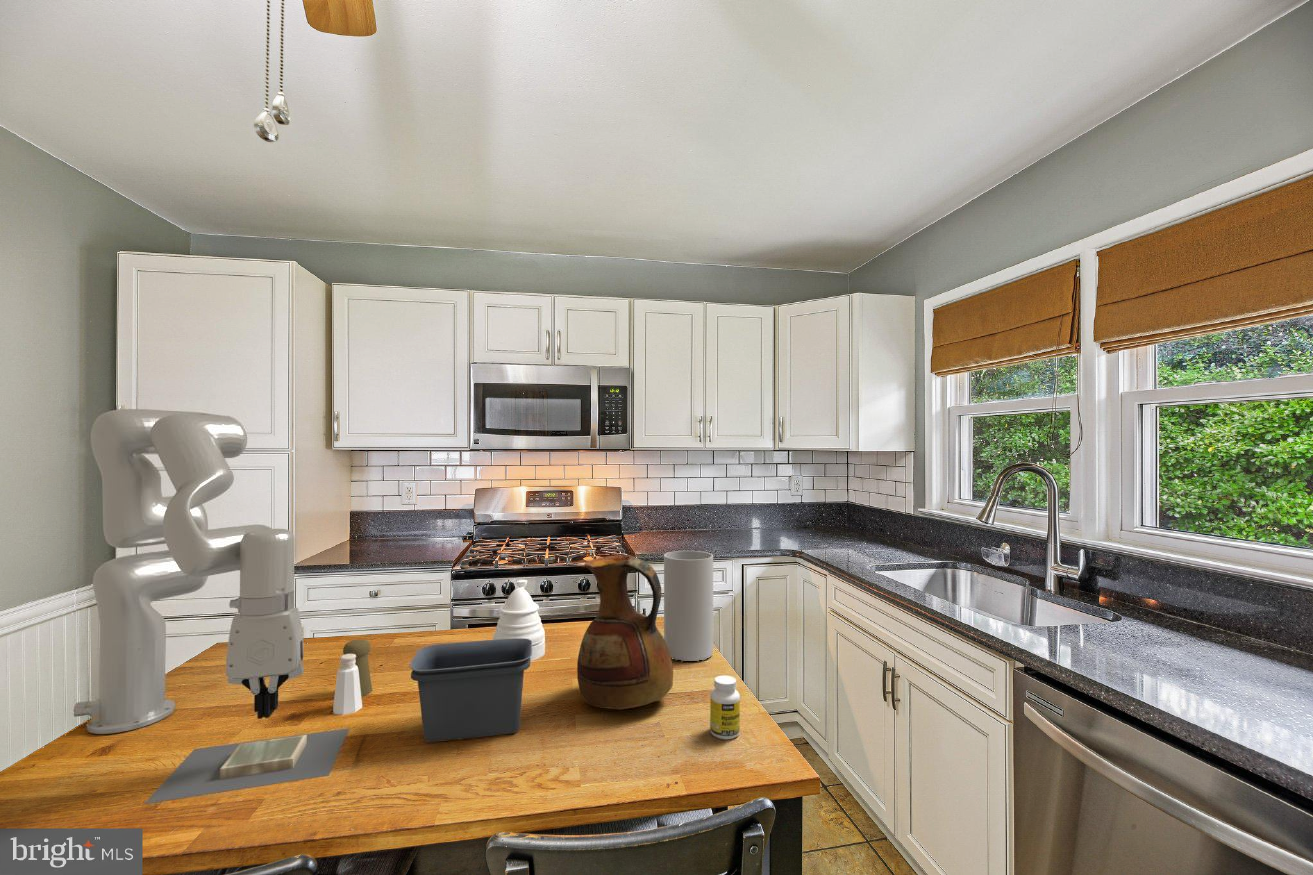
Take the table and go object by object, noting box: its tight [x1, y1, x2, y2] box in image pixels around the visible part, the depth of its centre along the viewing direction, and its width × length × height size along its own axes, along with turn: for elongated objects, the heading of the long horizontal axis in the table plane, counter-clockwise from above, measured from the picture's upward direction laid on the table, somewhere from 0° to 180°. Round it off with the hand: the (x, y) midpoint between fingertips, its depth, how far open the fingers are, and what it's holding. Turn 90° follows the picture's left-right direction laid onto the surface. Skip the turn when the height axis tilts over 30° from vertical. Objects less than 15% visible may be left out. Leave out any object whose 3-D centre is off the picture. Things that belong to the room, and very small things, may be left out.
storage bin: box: [408, 638, 532, 743], centre depth 108 cm, size 21×16×14 cm
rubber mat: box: [143, 727, 350, 805], centre depth 95 cm, size 24×16×1 cm, turn 108°
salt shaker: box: [332, 654, 363, 716], centre depth 114 cm, size 5×5×11 cm
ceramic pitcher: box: [576, 554, 674, 710], centre depth 119 cm, size 20×20×30 cm
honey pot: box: [492, 579, 546, 662], centre depth 146 cm, size 13×13×18 cm
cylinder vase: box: [663, 550, 714, 662], centre depth 146 cm, size 12×12×25 cm
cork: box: [342, 638, 373, 698], centre depth 123 cm, size 6×6×11 cm
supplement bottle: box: [709, 675, 741, 740], centre depth 105 cm, size 5×5×10 cm
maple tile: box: [220, 734, 307, 779], centre depth 95 cm, size 2×8×10 cm
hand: (266, 714), depth 95 cm, fingers closed
